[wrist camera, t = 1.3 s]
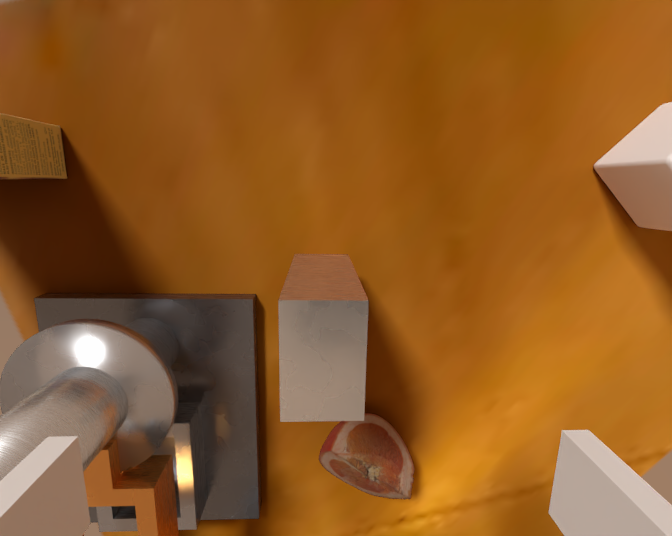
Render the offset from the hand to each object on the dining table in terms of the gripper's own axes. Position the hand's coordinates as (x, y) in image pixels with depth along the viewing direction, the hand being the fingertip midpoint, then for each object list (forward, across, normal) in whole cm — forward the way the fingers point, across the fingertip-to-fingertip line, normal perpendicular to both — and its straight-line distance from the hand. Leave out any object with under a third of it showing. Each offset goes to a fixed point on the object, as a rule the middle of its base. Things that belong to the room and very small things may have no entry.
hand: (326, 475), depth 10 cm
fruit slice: (+22, -4, +15) cm, 27 cm away
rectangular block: (+22, 0, 0) cm, 22 cm away
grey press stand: (+22, +14, +11) cm, 28 cm away
